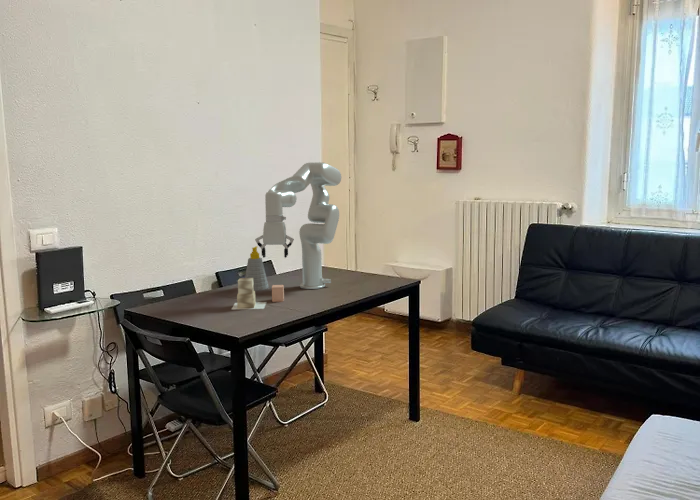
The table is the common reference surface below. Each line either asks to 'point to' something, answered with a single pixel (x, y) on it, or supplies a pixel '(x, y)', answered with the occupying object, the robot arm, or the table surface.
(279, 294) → the top block
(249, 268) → the soap bottle
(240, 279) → the tower mid
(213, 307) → the table surface
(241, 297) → the tower base
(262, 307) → the mat
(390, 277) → the table surface
